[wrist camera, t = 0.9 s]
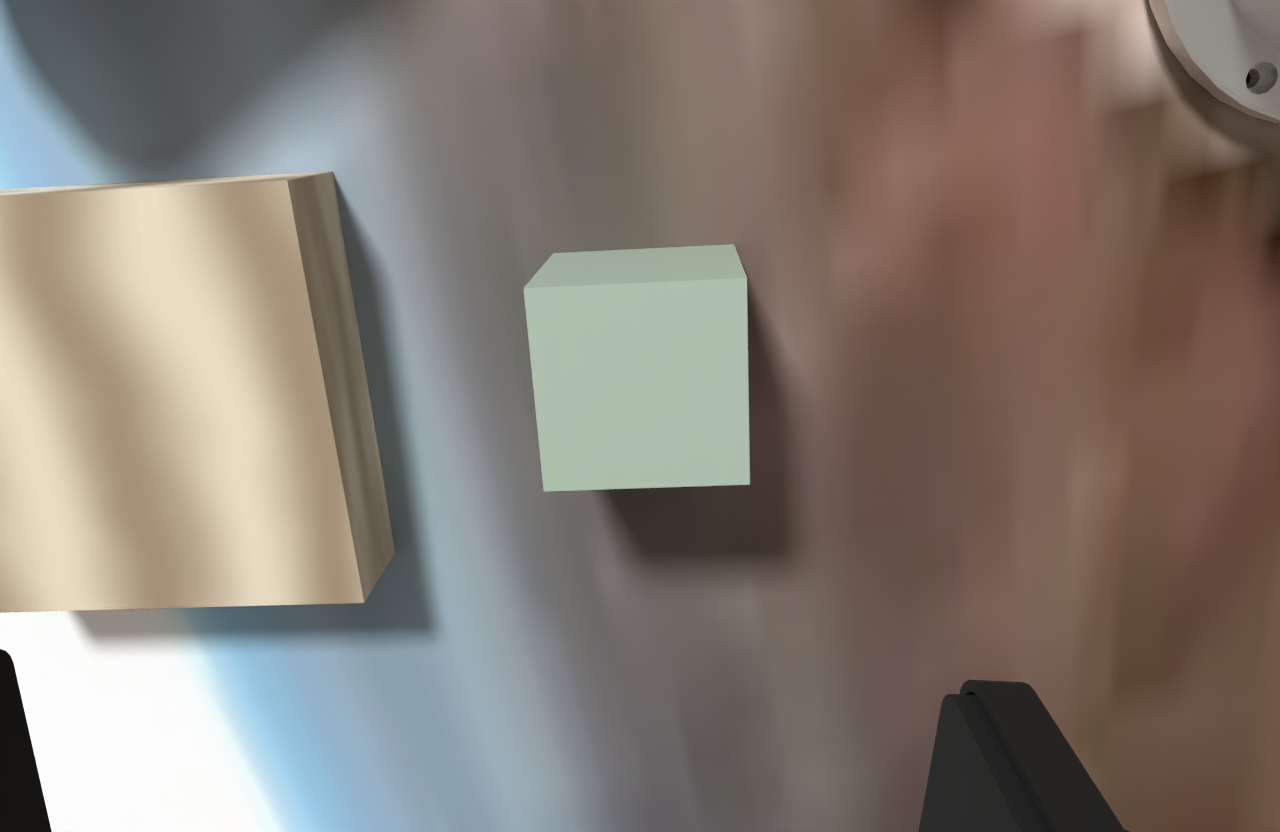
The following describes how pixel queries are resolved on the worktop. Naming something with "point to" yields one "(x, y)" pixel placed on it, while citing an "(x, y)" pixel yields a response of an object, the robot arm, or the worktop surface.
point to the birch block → (184, 399)
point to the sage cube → (641, 368)
